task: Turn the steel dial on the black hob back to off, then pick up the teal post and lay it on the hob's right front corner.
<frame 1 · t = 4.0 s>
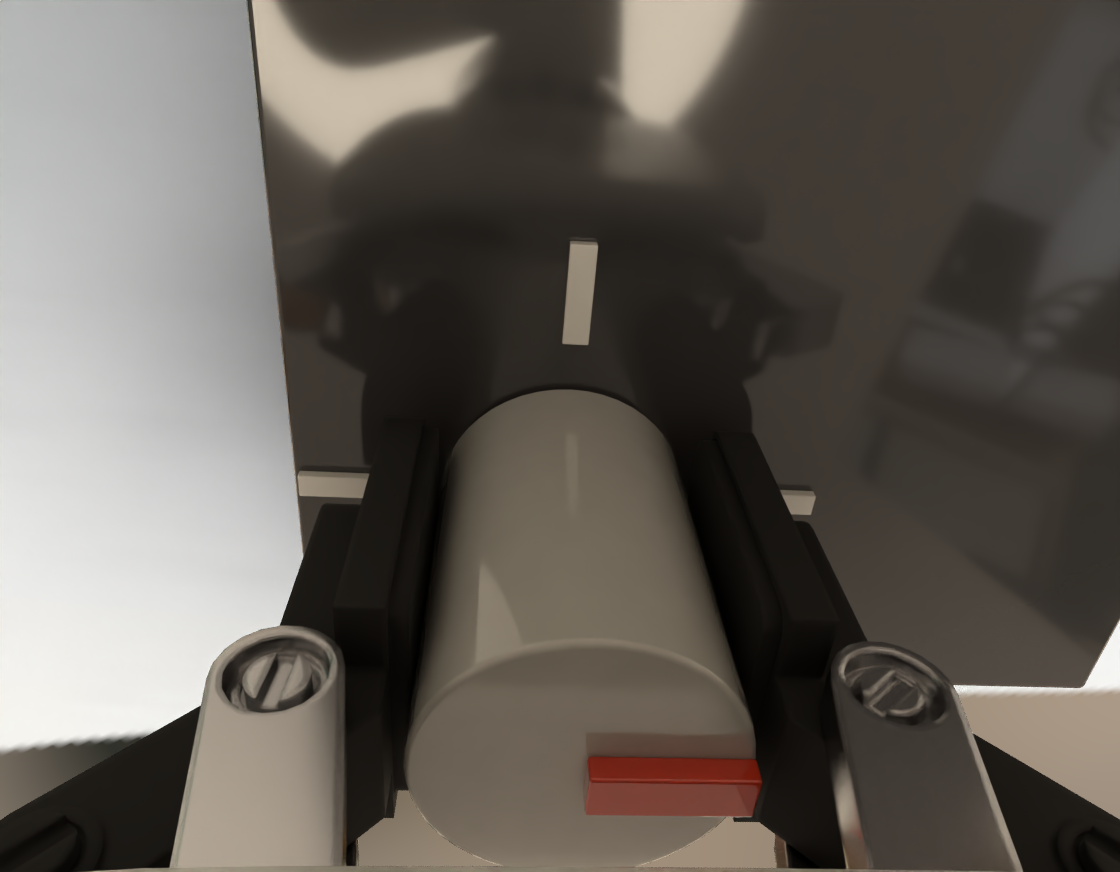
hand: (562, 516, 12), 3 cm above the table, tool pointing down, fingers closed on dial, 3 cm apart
hob: (778, 129, 13), on the table
dial: (569, 612, 11), point 5 cm above the table, hinge at 90.0°, touching gripper
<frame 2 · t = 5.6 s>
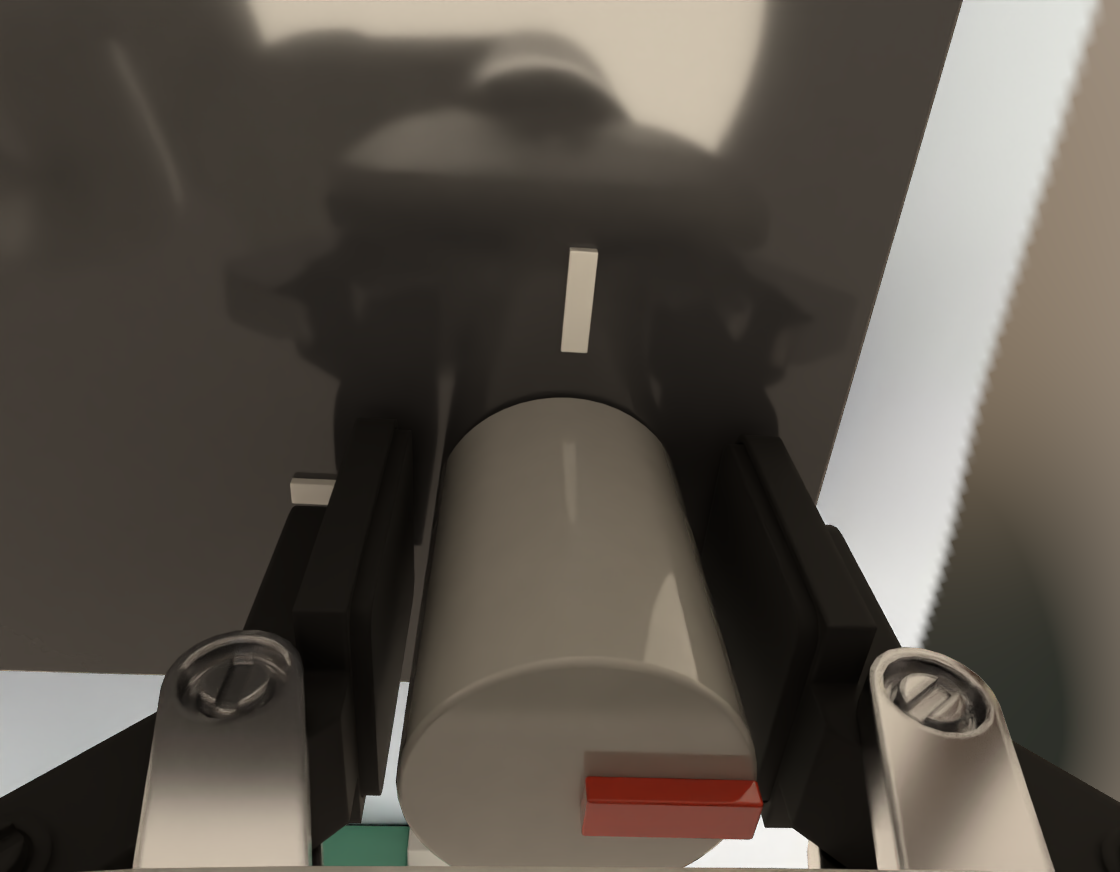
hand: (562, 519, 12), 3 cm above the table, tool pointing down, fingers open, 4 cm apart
hob: (242, 229, 13), on the table
dial: (566, 625, 10), point 5 cm above the table, hinge at -0.6°
teal post: (227, 860, 21), on the table
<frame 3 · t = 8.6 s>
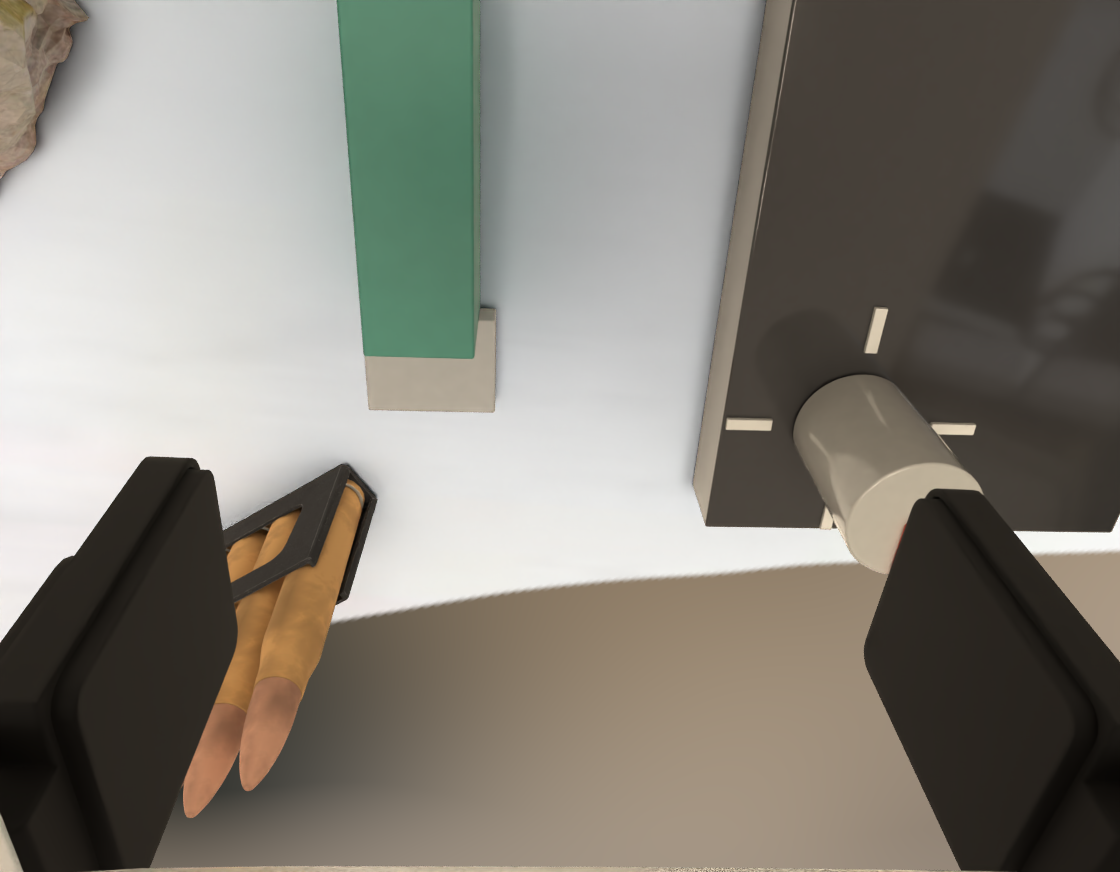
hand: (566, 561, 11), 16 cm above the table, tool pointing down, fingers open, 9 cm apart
ammunition clip: (246, 542, 31), on the table
hob: (954, 245, 26), on the table
dial: (882, 472, 24), point 5 cm above the table, hinge at -0.6°
teal post: (427, 157, 24), on the table
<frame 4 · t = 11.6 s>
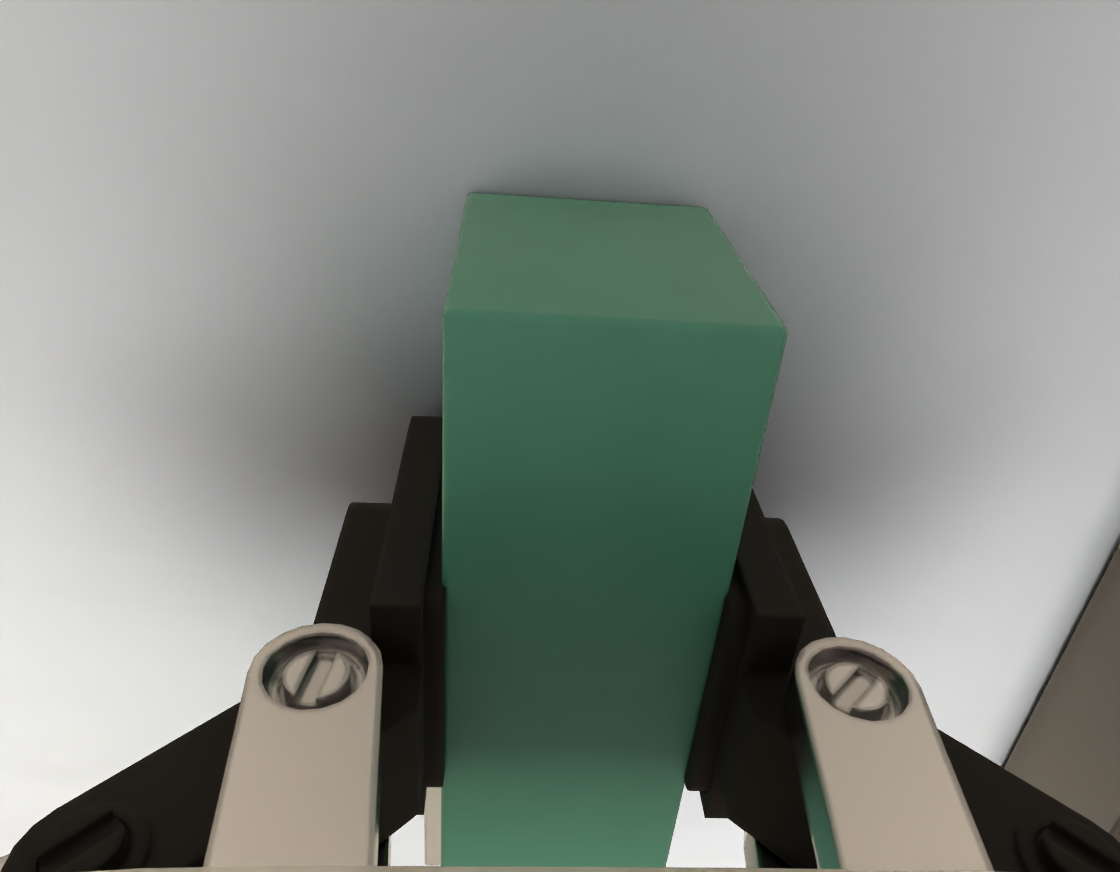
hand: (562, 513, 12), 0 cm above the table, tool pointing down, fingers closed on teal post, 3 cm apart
teal post: (561, 497, 13), on the table, touching gripper
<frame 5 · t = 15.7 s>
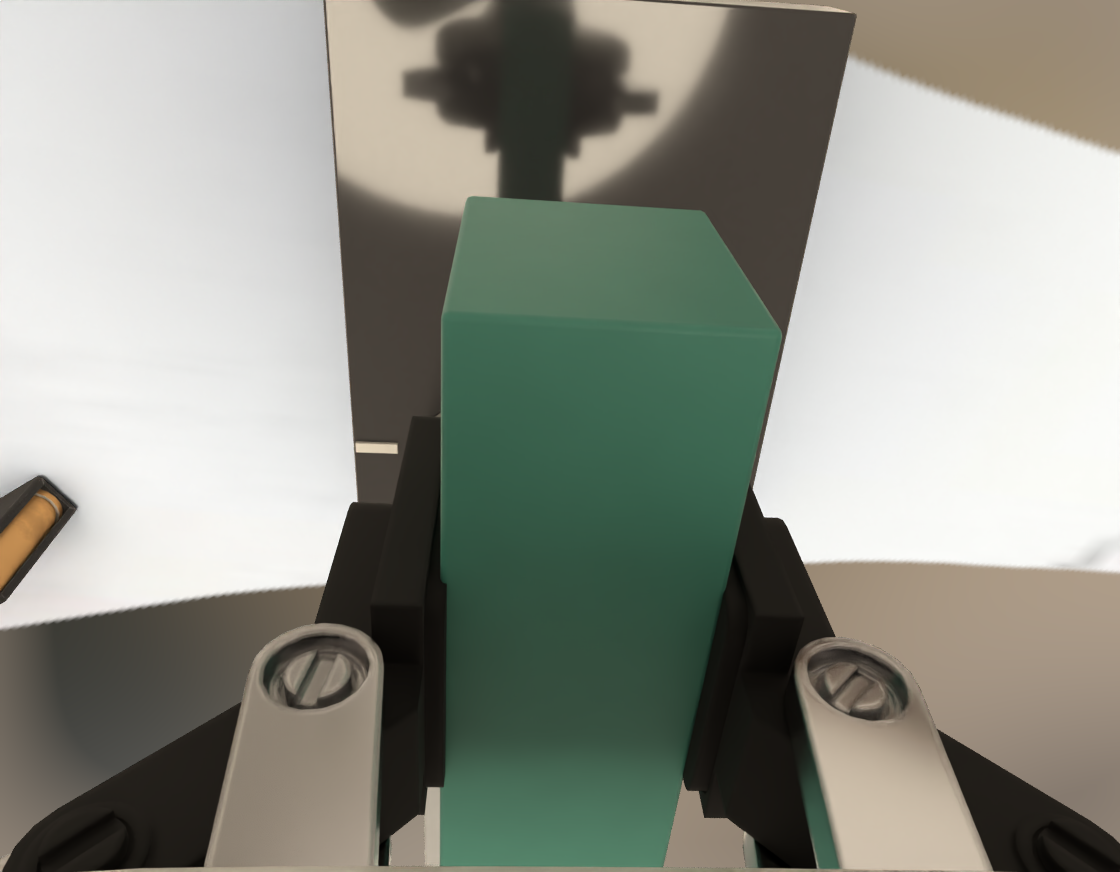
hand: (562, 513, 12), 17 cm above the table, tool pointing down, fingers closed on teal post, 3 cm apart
hob: (566, 288, 29), on the table
dial: (468, 494, 27), point 5 cm above the table, hinge at -0.6°
teal post: (560, 498, 13), point 17 cm above the table, touching gripper
when the fingers open (3 cm above the table, at t = 20.2 s): teal post stays where it is, resting on hob.
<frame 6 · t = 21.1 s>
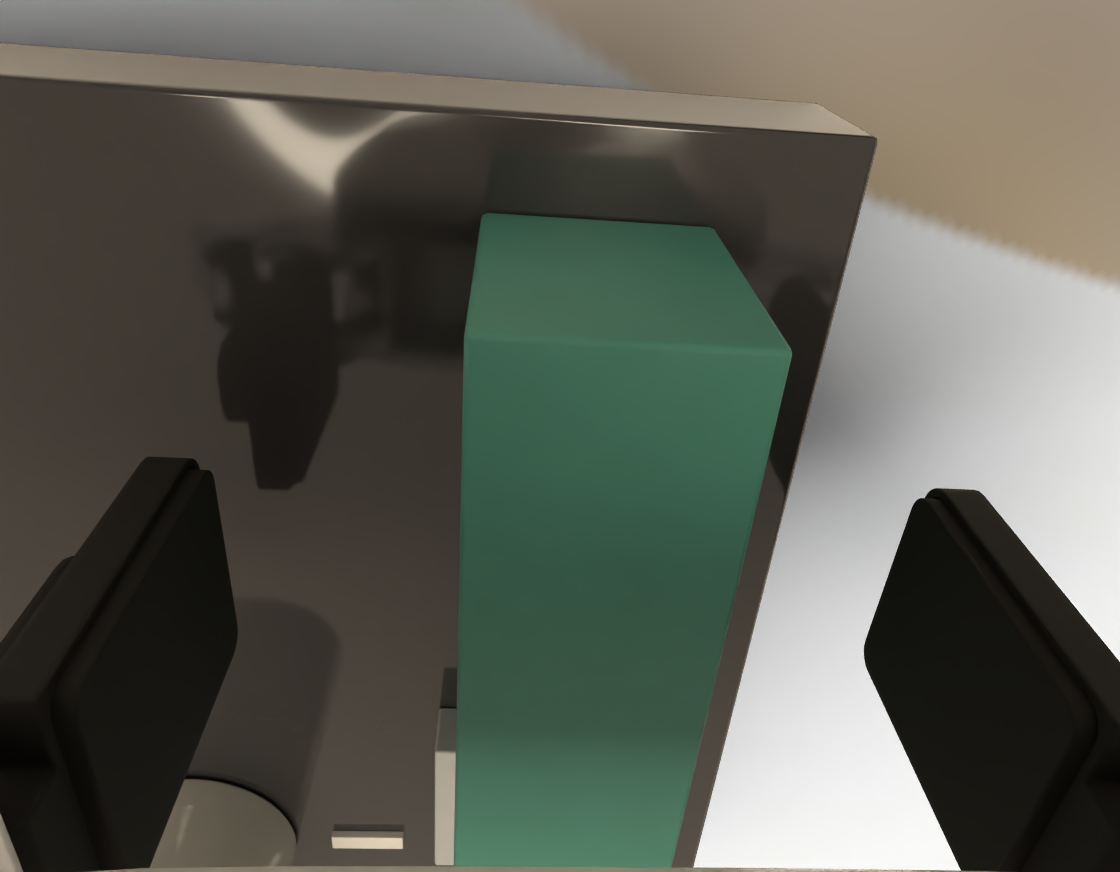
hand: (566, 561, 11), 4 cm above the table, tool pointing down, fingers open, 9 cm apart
hob: (368, 561, 17), on the table
teal post: (570, 506, 13), point 2 cm above the table, touching hob
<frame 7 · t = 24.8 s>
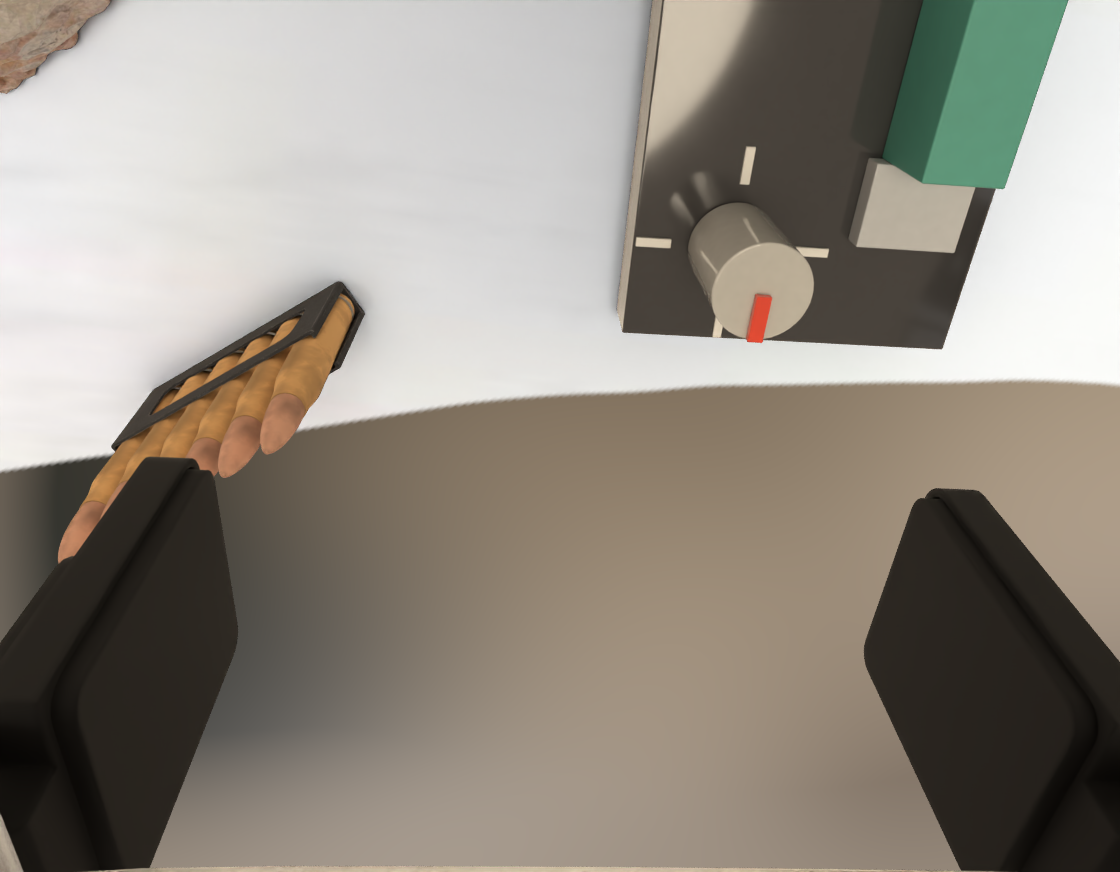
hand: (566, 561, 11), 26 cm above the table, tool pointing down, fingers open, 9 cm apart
ammunition clip: (258, 351, 38), on the table
hob: (815, 108, 34), on the table
dial: (747, 269, 32), point 5 cm above the table, hinge at -0.6°
teal post: (955, 31, 30), point 2 cm above the table, touching hob
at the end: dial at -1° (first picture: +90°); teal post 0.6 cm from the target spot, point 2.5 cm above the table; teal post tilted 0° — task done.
